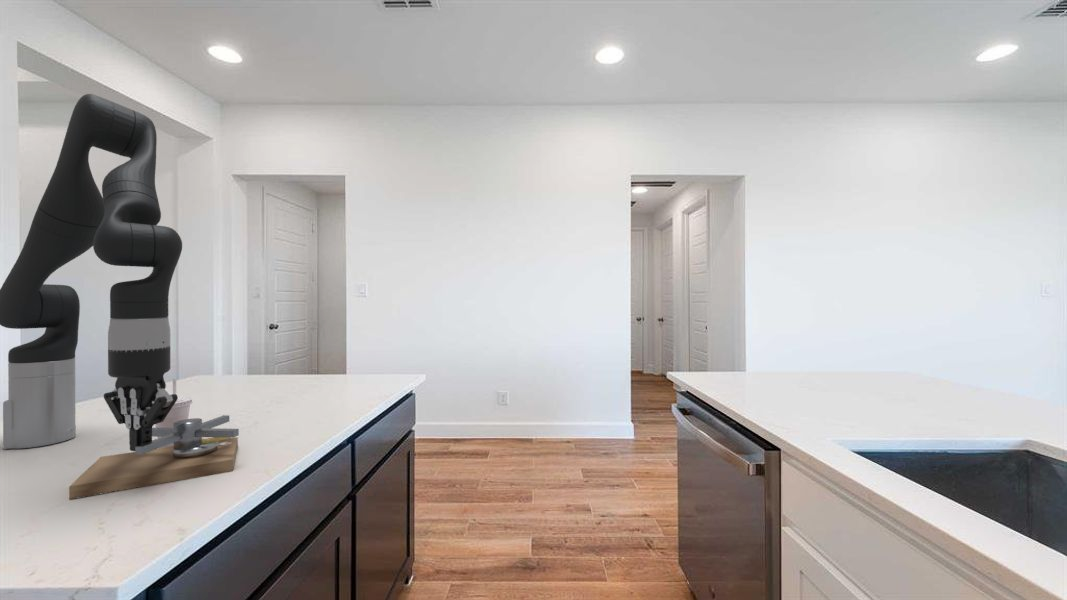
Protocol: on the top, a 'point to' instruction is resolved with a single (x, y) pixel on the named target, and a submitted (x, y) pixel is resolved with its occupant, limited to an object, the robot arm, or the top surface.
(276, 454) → the top surface
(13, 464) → the top surface
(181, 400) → the smoothie
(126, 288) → the robot arm
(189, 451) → the capstan
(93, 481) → the board
